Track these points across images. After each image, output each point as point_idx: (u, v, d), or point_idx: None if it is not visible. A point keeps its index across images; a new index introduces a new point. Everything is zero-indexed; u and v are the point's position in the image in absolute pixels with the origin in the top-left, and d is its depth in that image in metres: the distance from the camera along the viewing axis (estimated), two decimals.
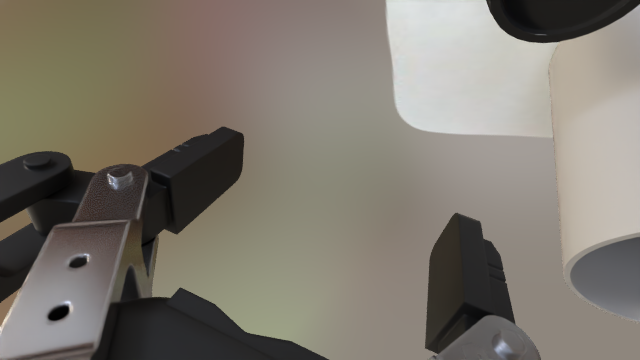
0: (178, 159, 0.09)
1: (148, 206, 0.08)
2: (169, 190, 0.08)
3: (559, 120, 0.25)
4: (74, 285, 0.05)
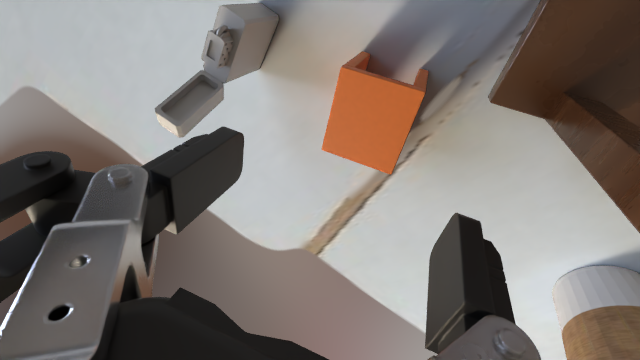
0: (178, 159, 0.09)
1: (148, 206, 0.08)
2: (169, 190, 0.08)
3: None
4: (74, 285, 0.05)
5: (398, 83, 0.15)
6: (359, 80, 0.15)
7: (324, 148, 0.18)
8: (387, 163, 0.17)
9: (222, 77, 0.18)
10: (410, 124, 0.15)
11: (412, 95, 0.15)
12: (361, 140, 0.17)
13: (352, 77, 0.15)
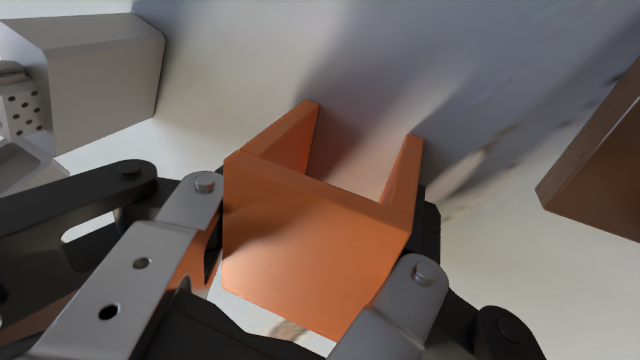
0: None
1: None
2: None
3: None
4: (129, 287, 0.05)
5: (347, 205, 0.06)
6: (264, 190, 0.07)
7: (225, 287, 0.09)
8: (339, 332, 0.09)
9: (47, 148, 0.10)
10: (380, 283, 0.07)
11: (381, 234, 0.06)
12: (286, 289, 0.08)
13: (249, 182, 0.07)
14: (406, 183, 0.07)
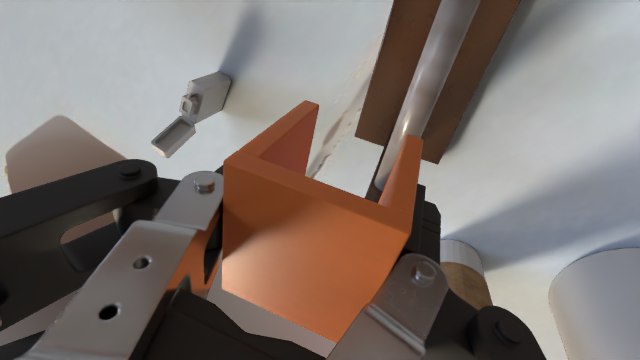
0: None
1: None
2: None
3: None
4: (130, 286, 0.05)
5: (346, 206, 0.06)
6: (264, 191, 0.07)
7: (225, 288, 0.09)
8: (339, 332, 0.09)
9: (193, 120, 0.30)
10: (379, 284, 0.07)
11: (380, 235, 0.06)
12: (287, 289, 0.08)
13: (249, 183, 0.07)
14: (405, 184, 0.07)
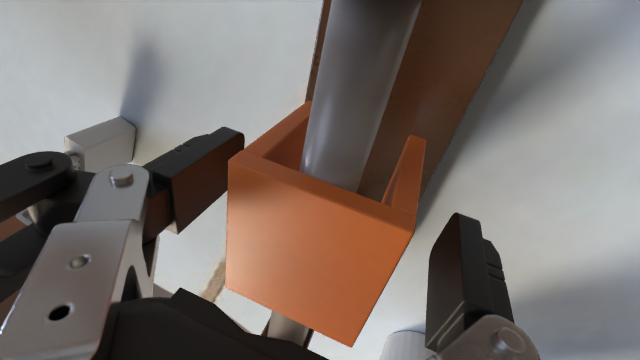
0: (179, 159, 0.09)
1: (149, 206, 0.08)
2: (170, 190, 0.08)
3: None
4: (75, 285, 0.05)
5: (350, 205, 0.06)
6: (268, 190, 0.07)
7: (229, 287, 0.10)
8: (342, 331, 0.09)
9: None
10: (383, 283, 0.07)
11: (384, 234, 0.06)
12: (290, 288, 0.08)
13: (254, 183, 0.07)
14: (409, 184, 0.07)
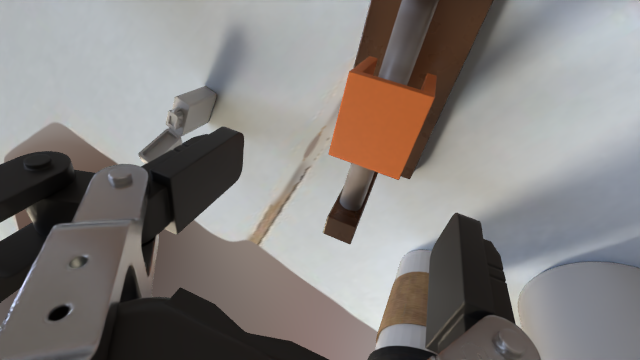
0: (178, 159, 0.09)
1: (148, 206, 0.08)
2: (169, 190, 0.08)
3: None
4: (74, 285, 0.05)
5: (406, 88, 0.15)
6: (367, 85, 0.15)
7: (331, 153, 0.18)
8: (394, 168, 0.17)
9: (179, 133, 0.31)
10: (419, 129, 0.15)
11: (421, 100, 0.15)
12: (368, 145, 0.17)
13: (360, 82, 0.15)
14: (430, 86, 0.16)
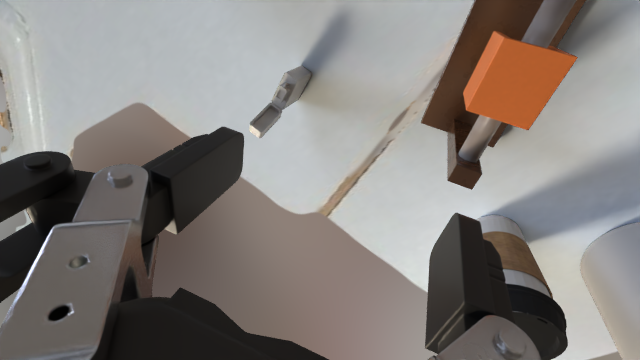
0: (178, 159, 0.09)
1: (148, 206, 0.08)
2: (169, 190, 0.08)
3: None
4: (74, 285, 0.05)
5: (553, 50, 0.18)
6: (518, 48, 0.19)
7: (469, 108, 0.21)
8: (526, 120, 0.21)
9: (281, 106, 0.35)
10: (557, 85, 0.19)
11: (565, 60, 0.18)
12: (507, 100, 0.20)
13: (512, 46, 0.19)
14: (563, 51, 0.19)
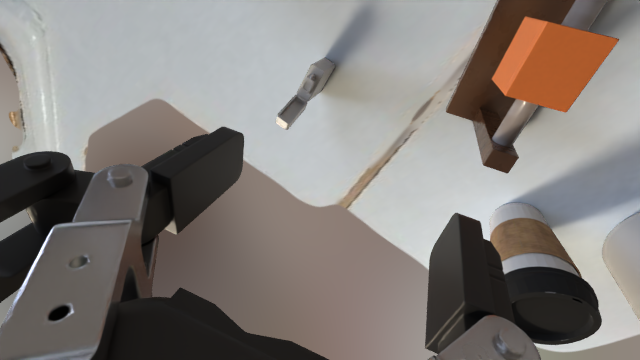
0: (178, 159, 0.09)
1: (148, 206, 0.08)
2: (169, 190, 0.08)
3: None
4: (74, 285, 0.05)
5: (595, 33, 0.19)
6: (561, 32, 0.19)
7: (508, 94, 0.22)
8: (565, 102, 0.21)
9: (307, 98, 0.35)
10: (597, 67, 0.20)
11: (606, 42, 0.19)
12: (547, 84, 0.21)
13: (555, 30, 0.19)
14: None
